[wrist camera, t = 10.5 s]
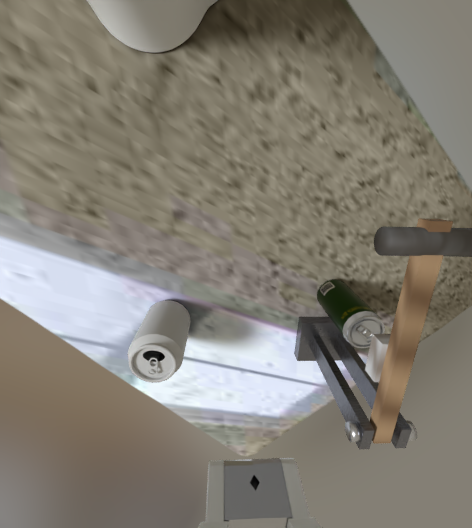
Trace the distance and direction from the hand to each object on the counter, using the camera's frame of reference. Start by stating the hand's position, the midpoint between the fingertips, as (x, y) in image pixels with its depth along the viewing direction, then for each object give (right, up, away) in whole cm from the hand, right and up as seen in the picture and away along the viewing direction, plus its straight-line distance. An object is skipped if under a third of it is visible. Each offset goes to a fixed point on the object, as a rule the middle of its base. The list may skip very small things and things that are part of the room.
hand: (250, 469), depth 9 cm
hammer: (+17, 0, +21) cm, 27 cm away
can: (-12, -2, +37) cm, 39 cm away
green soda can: (+16, +2, +37) cm, 40 cm away
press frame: (+16, -6, +40) cm, 43 cm away
